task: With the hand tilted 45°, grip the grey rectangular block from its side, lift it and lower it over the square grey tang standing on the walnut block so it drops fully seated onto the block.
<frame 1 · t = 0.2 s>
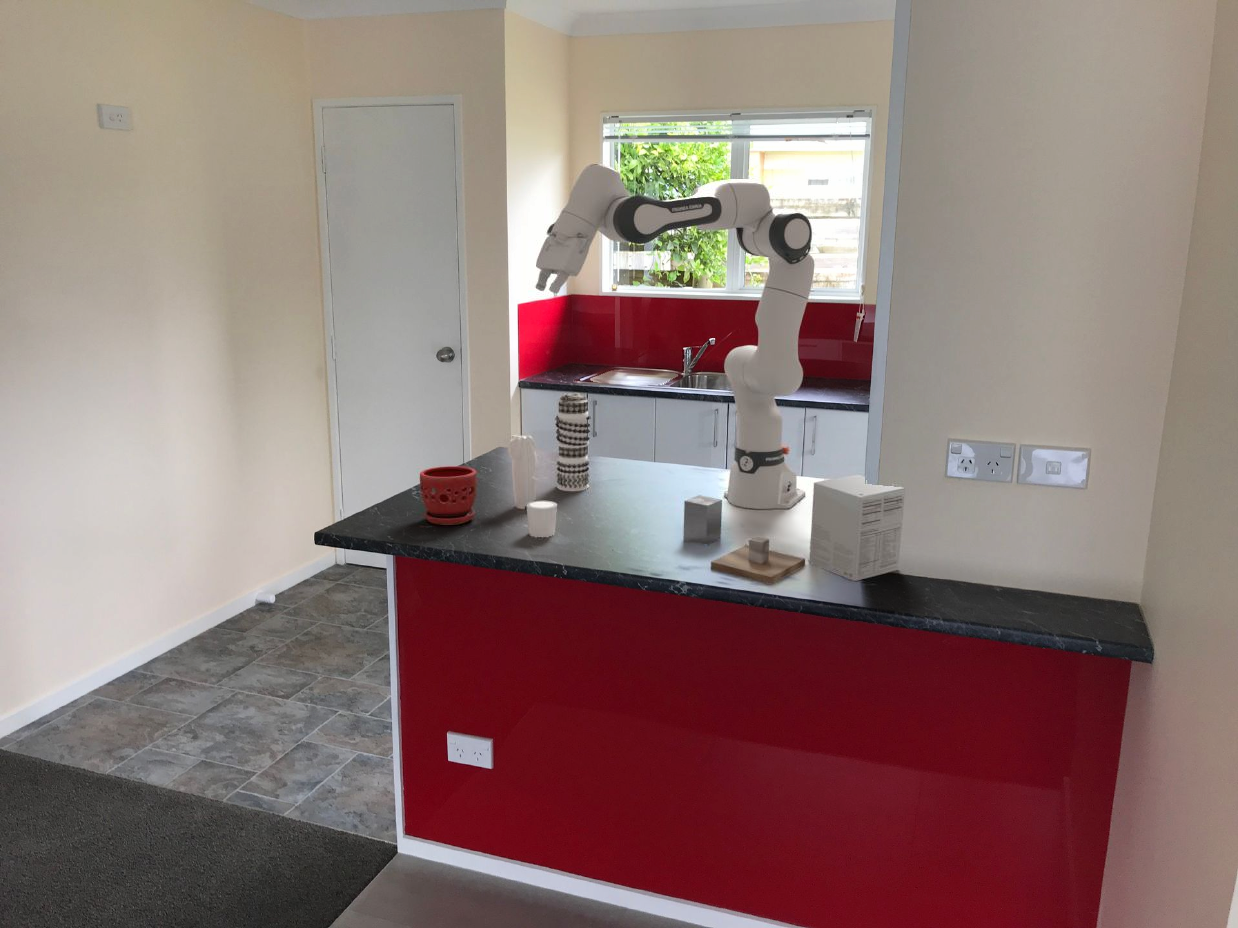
hand: (545, 291, 212), 54 cm above the worktop, tool tilted 30°, fingers open, 8 cm apart
white figurine: (524, 507, 240), on the worktop
grey rectangular block: (702, 539, 217), on the worktop
supplement box: (853, 567, 200), on the worktop
syrup box: (828, 546, 213), on the worktop
white short cylinder: (542, 534, 219), on the worktop
tang block: (758, 567, 199), on the worktop
decorative candle: (573, 487, 259), on the worktop
plant pot: (449, 520, 229), on the worktop
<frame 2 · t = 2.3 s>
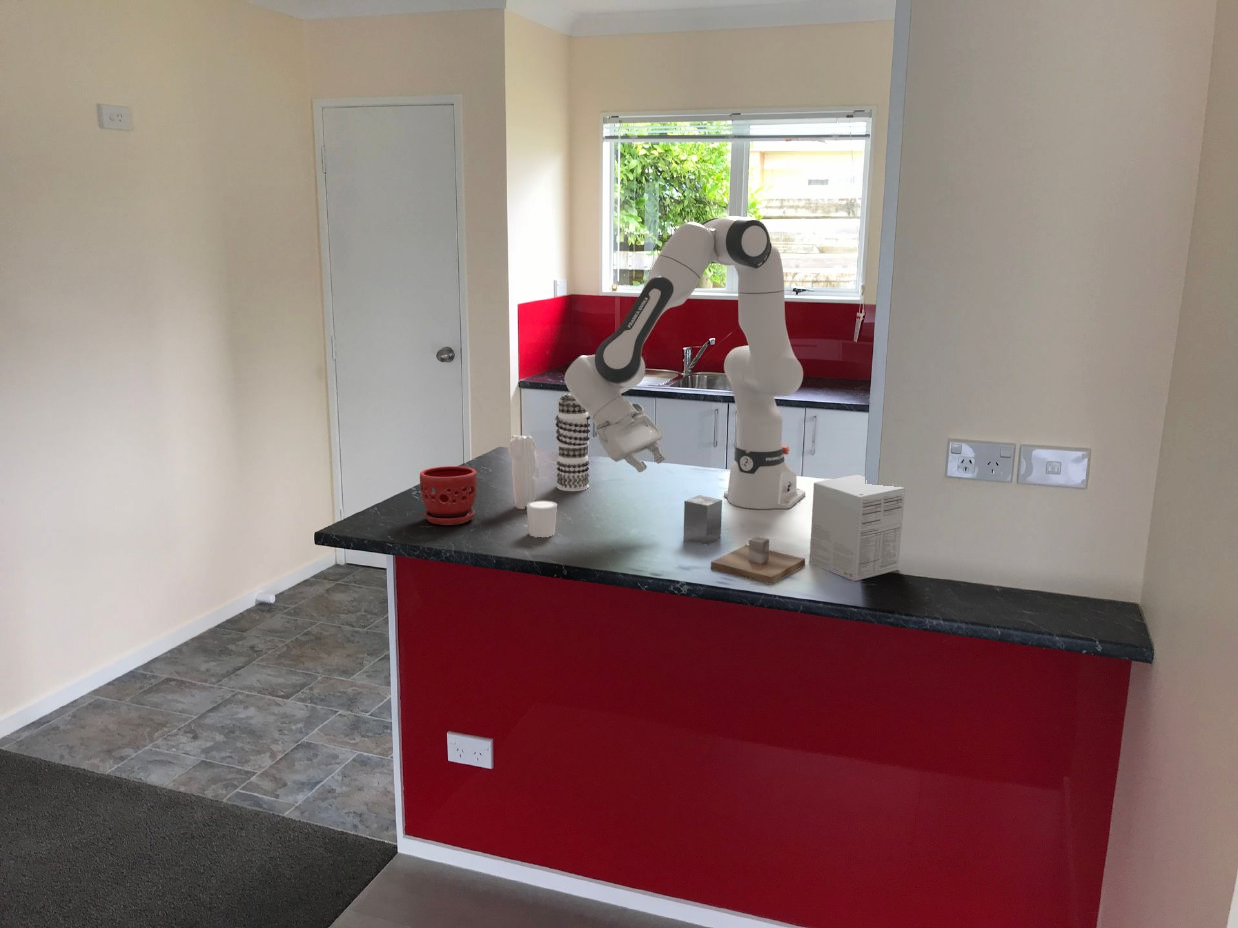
hand: (653, 465, 219), 15 cm above the worktop, tool tilted 45°, fingers open, 8 cm apart
nothing on the worktop moved.
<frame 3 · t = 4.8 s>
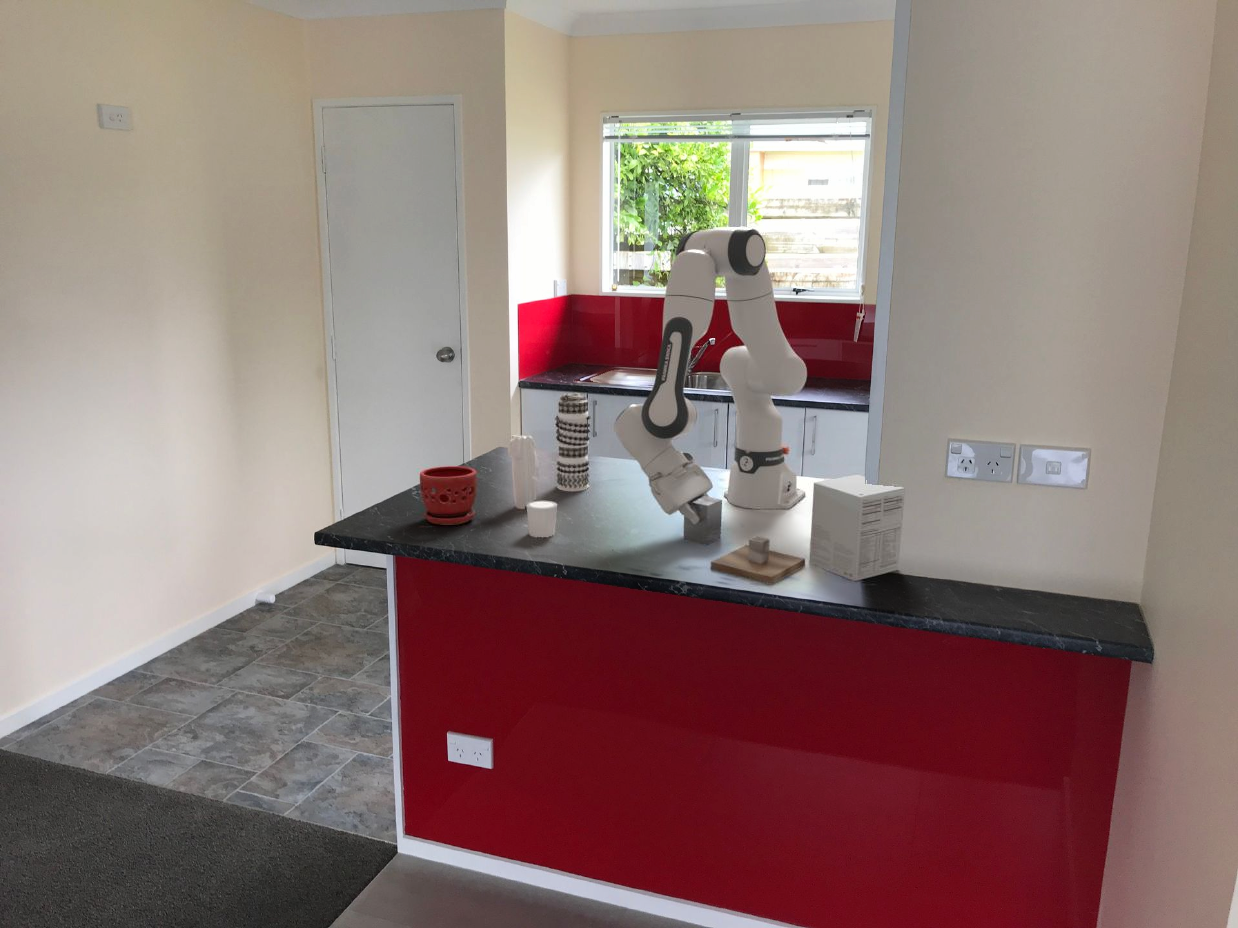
hand: (705, 517, 215), 5 cm above the worktop, tool tilted 45°, fingers closed on grey rectangular block, 6 cm apart
grey rectangular block: (702, 539, 217), on the worktop, touching gripper
everything else where it was.
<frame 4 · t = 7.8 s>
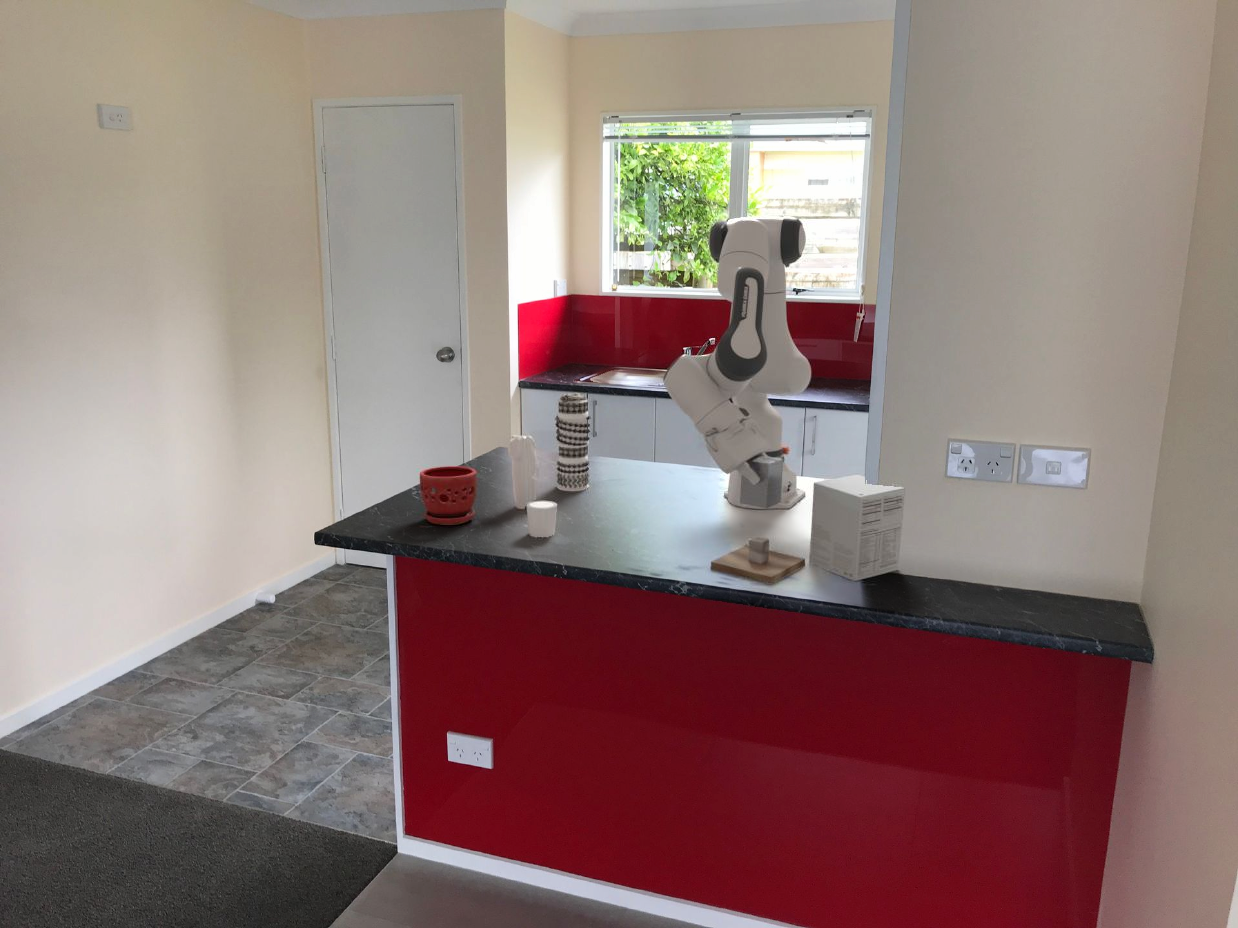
hand: (765, 477, 194), 19 cm above the worktop, tool tilted 45°, fingers closed on grey rectangular block, 6 cm apart
grey rectangular block: (760, 502, 196), point 14 cm above the worktop, touching gripper
everything else where it was.
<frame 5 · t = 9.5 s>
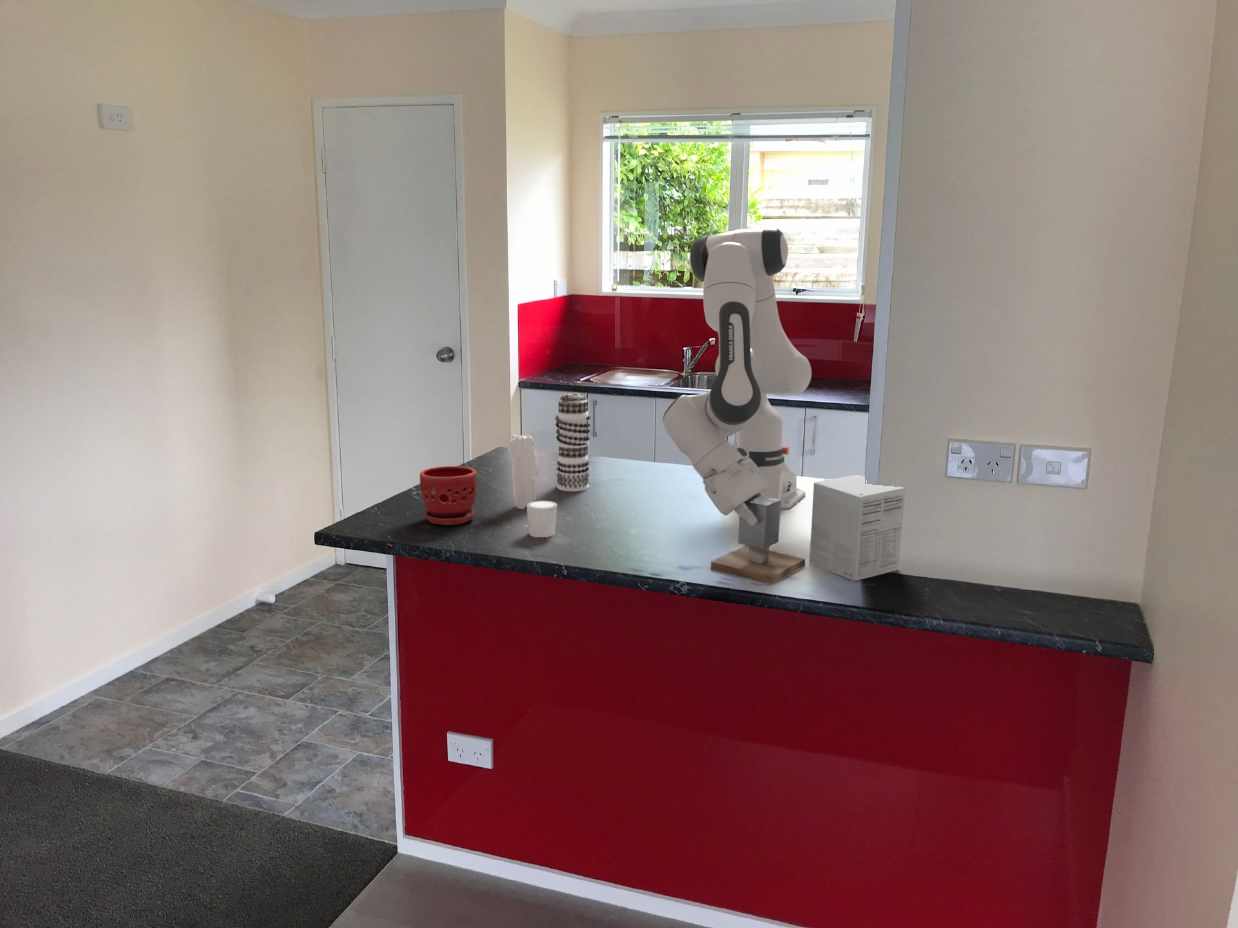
hand: (762, 518, 196), 11 cm above the worktop, tool tilted 45°, fingers closed on grey rectangular block, 6 cm apart
grey rectangular block: (758, 542, 198), point 5 cm above the worktop, touching gripper
everything else where it was.
when the fingers open (8 cm above the worktop, at t = 10.8 s): grey rectangular block stays where it is, resting on tang block.
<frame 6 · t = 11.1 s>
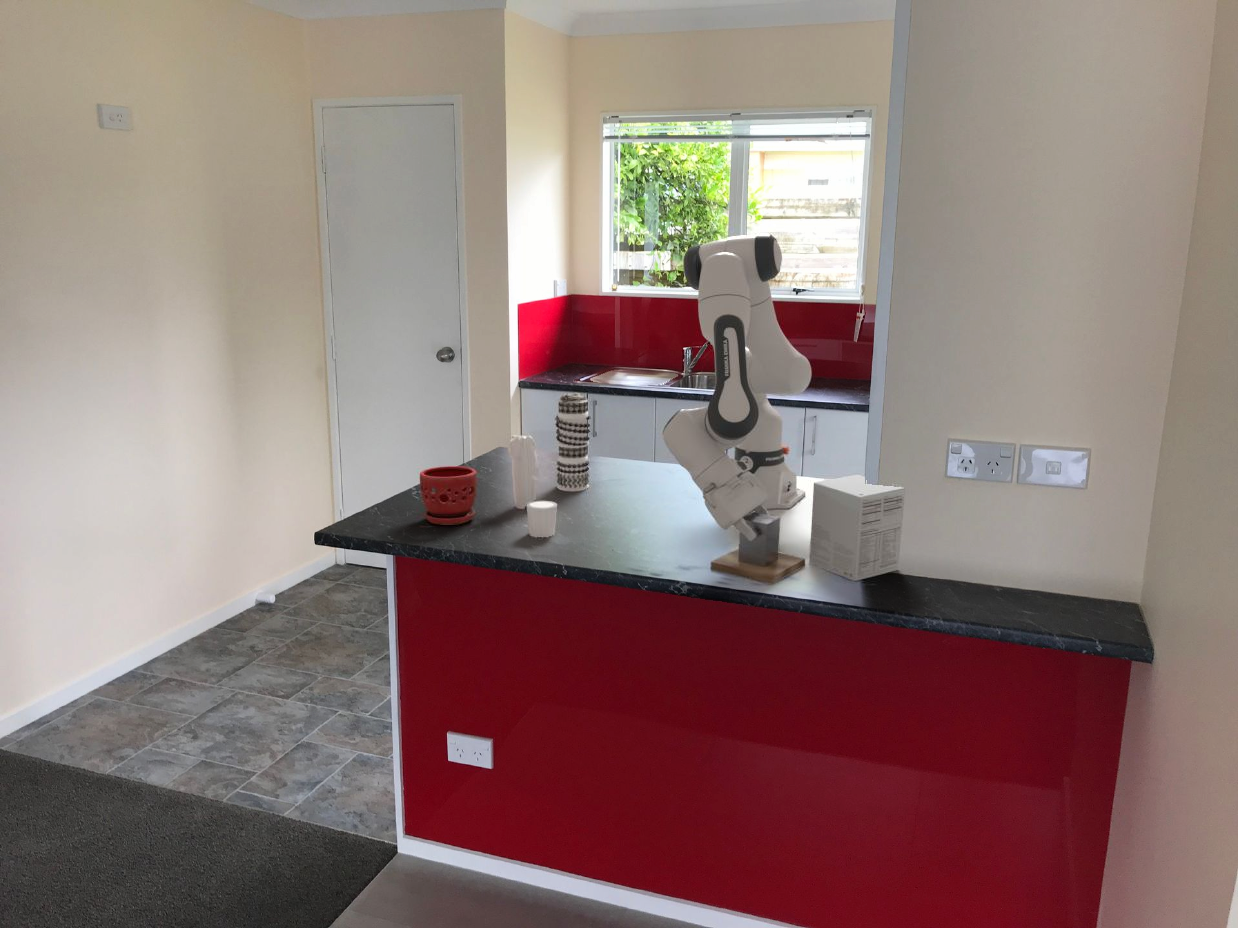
hand: (762, 531, 197), 8 cm above the worktop, tool tilted 45°, fingers open, 8 cm apart
grey rectangular block: (758, 560, 199), point 1 cm above the worktop, touching tang block
everything else where it was.
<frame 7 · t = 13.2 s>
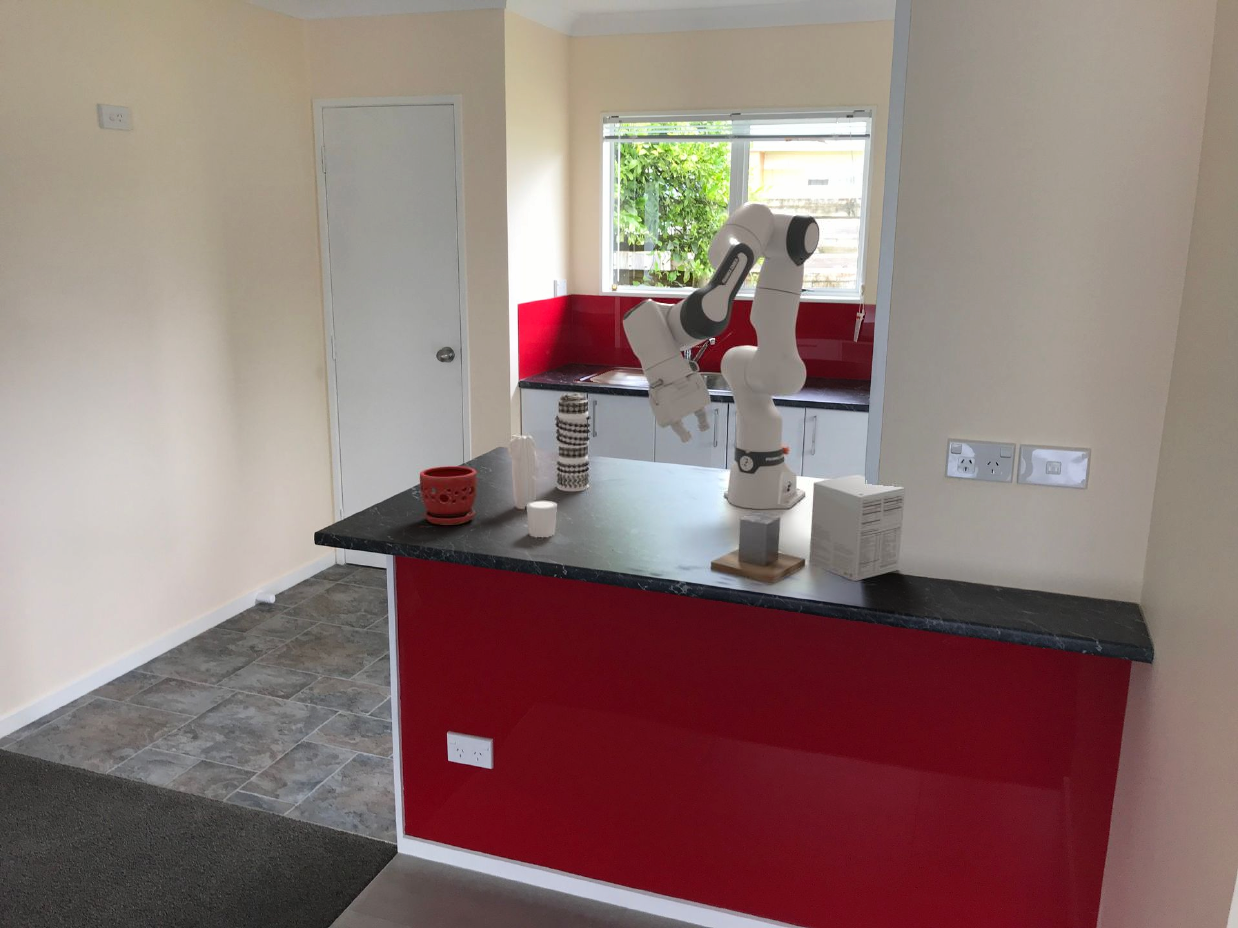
hand: (697, 435, 203), 25 cm above the worktop, tool tilted 30°, fingers open, 8 cm apart
nothing on the worktop moved.
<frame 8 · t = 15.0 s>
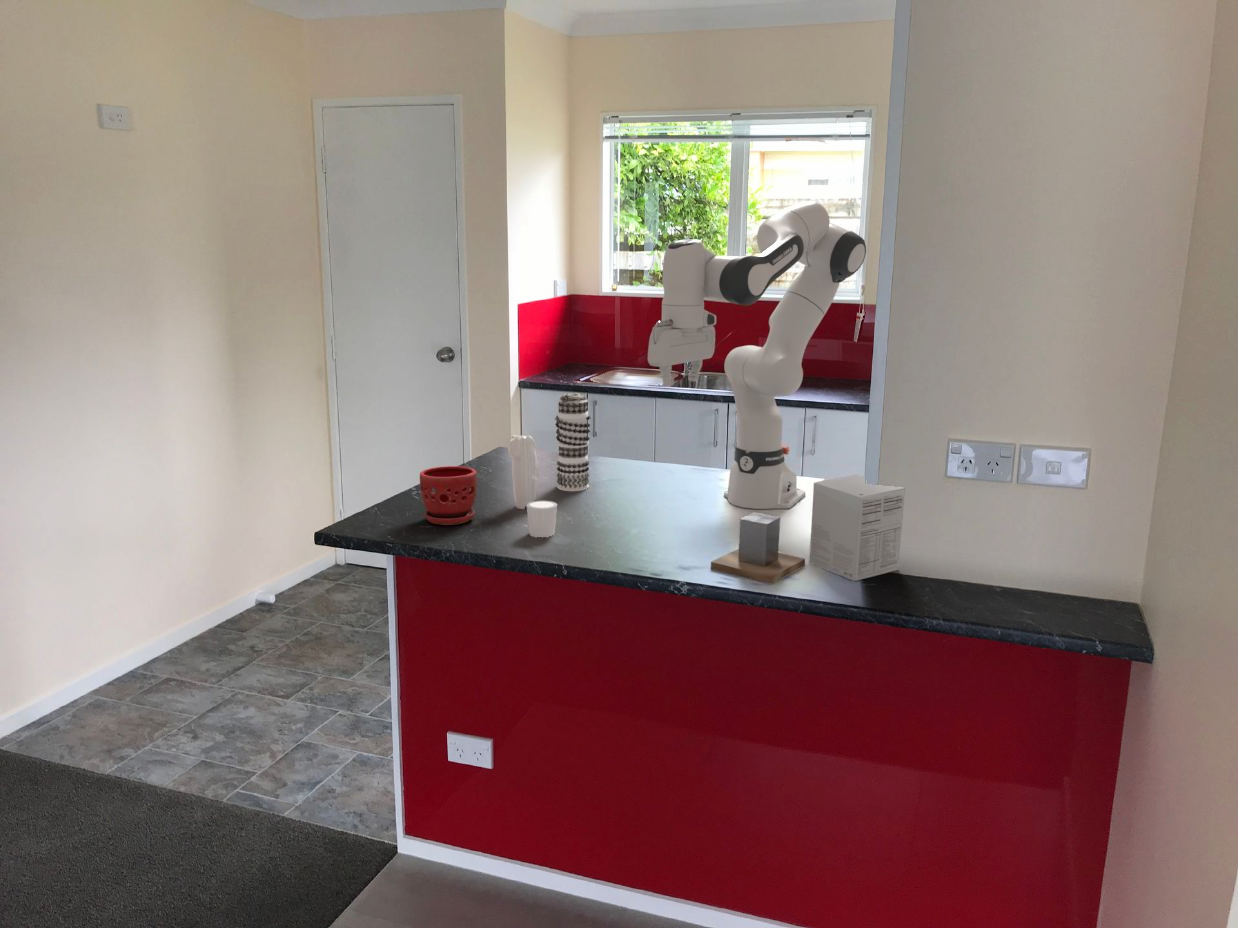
hand: (681, 383, 208), 35 cm above the worktop, tool pointing down, fingers open, 8 cm apart
nothing on the worktop moved.
at the end: grey rectangular block 0.0 cm from the tang block (horizontally); grey rectangular block point 1.5 cm above the worktop; grey rectangular block tilted 0° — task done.
